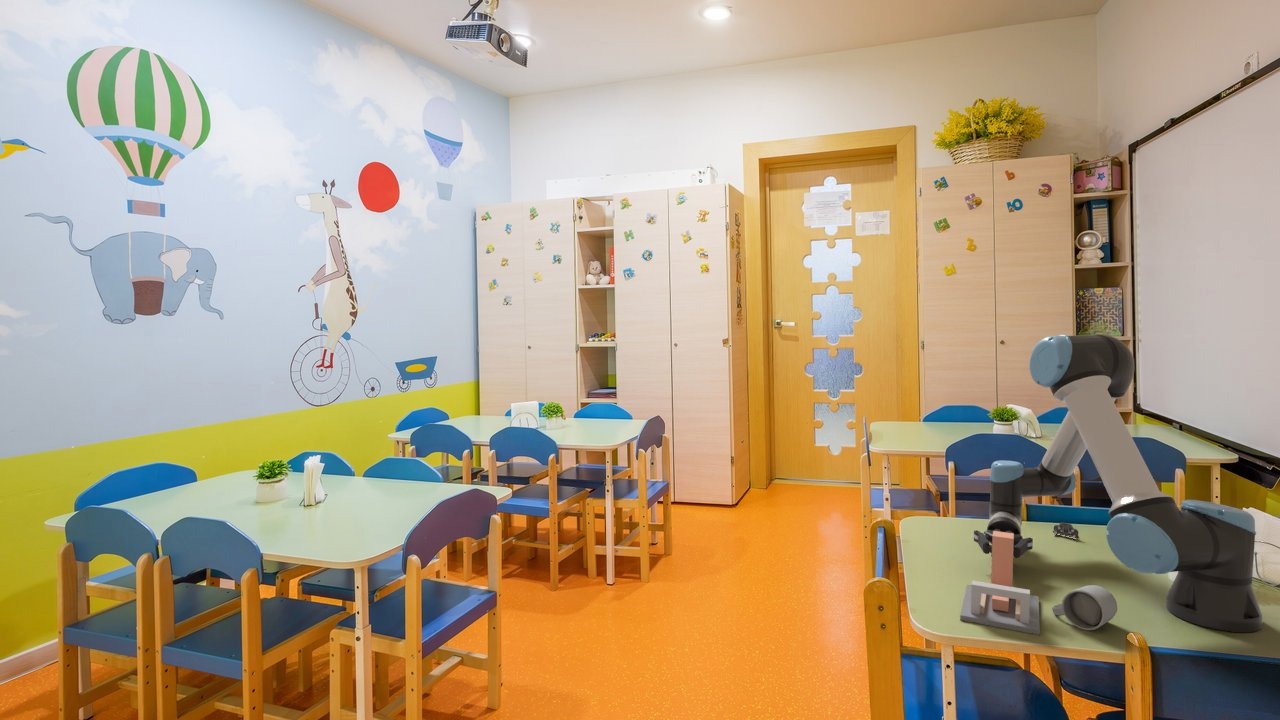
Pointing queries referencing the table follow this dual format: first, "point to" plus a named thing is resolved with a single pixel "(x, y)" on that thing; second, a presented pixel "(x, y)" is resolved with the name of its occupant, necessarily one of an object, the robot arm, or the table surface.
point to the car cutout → (1066, 530)
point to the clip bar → (1002, 566)
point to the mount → (980, 610)
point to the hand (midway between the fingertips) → (1000, 560)
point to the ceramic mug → (1087, 607)
